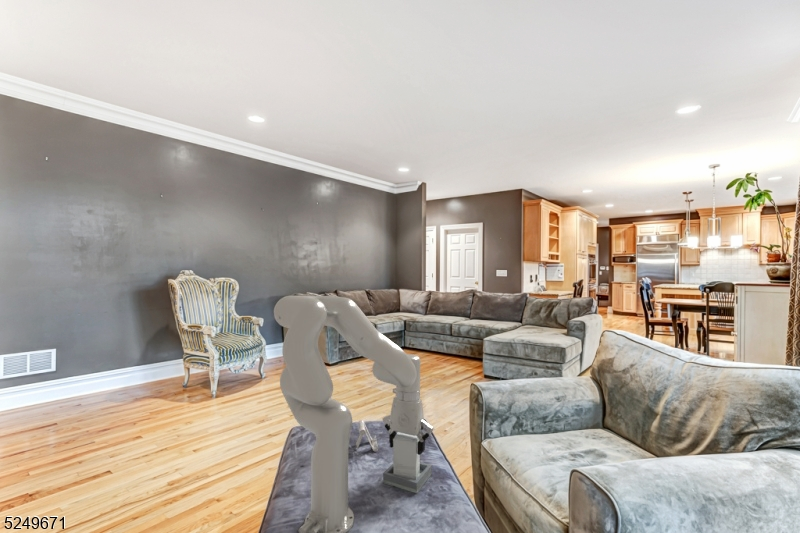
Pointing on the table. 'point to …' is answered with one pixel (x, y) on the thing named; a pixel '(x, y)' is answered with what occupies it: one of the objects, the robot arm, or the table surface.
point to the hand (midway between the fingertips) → (406, 449)
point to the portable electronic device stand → (363, 432)
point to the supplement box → (406, 456)
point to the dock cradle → (408, 483)
